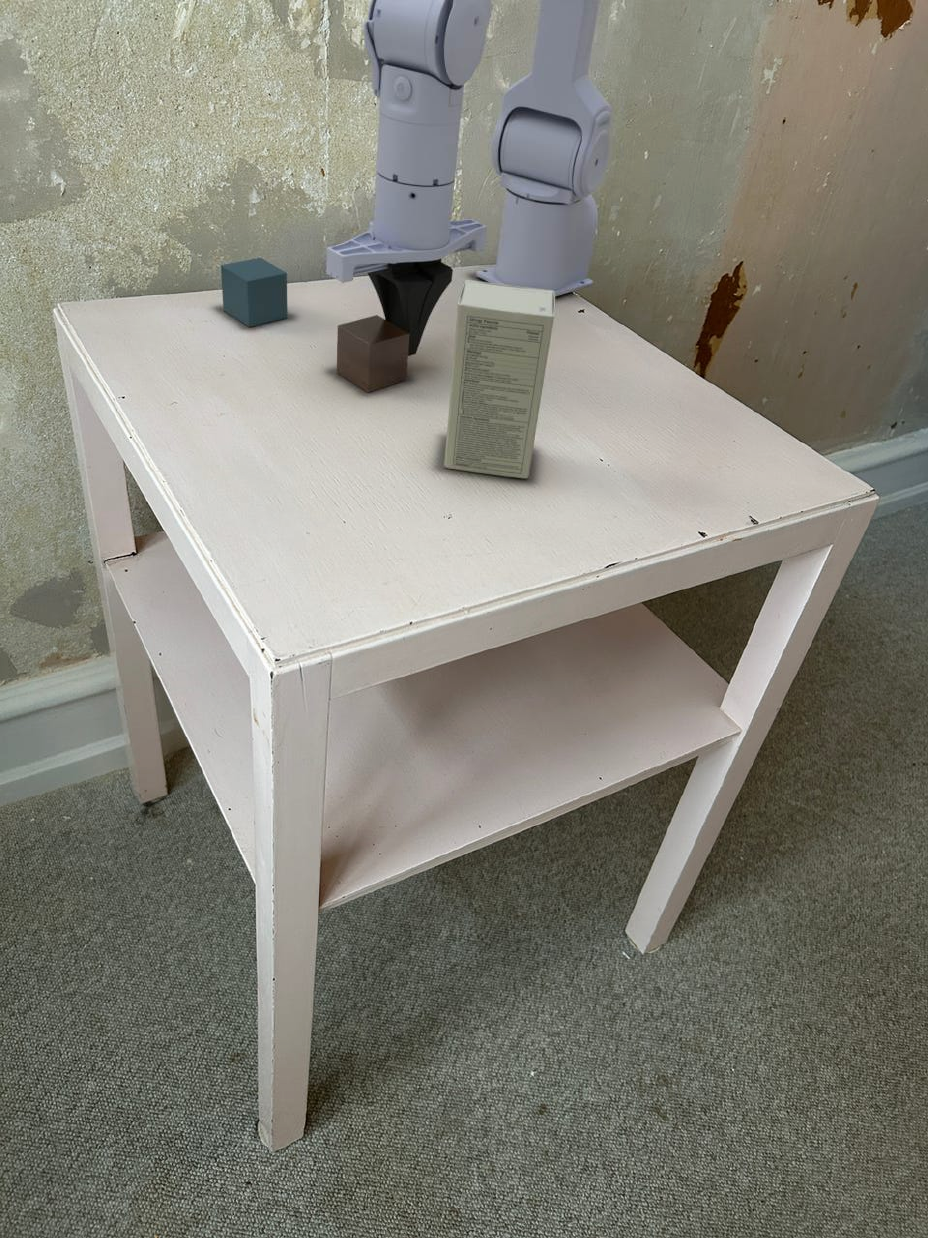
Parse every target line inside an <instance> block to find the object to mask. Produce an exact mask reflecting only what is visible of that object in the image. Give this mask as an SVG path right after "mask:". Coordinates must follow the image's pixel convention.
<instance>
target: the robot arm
mask: <svg viewBox="0 0 928 1238" xmlns="http://www.w3.org/2000/svg"><path fill="white" fill-rule="evenodd" d="M600 1H601V0H540V4H539V11H538V13H539V14H538V19H537V26H536V27H537V28H536V35H535V43H534V48H533V49H534V50H533V57H532V63H531V64H532V65H531V71H530V73H528V74H526V75H525V76H523V77H522V78H520V79H518V80H517V81H515V82H514V83H513V84H512V85H511V86H509V87H508V88H507V90H505V92H504V93H503V96H502V100H501V106H500V111H499V115H498V118H497V121H496V124H495V125H494V130H493V133H492V139H491V146H490V157H491V162H492V164H493V168H494V170H495V173H496V174H497V175H499V176H500V180H499V186H500V187H502V188H503V187H504V188H505V192H504V193H505V194H504V202H503V210H502V218H501V224H500V233H499V240H498V247H497V255H496V263H495V266H490V267H487V268H483V269H478V270H476V273H475V274H476V277H477V278H480V279H482V280H484V281H485V282H487V283H495V284H504V285H512V286H520V287H528V288H536V289H544V290H552V291H554V292H555V297H559V296H562V295H565V294H568V293H572V292H576V291H579V290H582V289H587V288H589V287H592V286H593V285H594V280H593V279H591V278H588V275H589V270H590V264H591V260H592V256H593V255H592V254H593V249H594V245H595V238H596V234H597V229H598V223H599V213H598V207H597V203H596V200H595V199H594V197H593V195H592V194H593V193H594V192H595V191H596V190H597V189H598V187H599V186H600V184H601V181H602V179H603V178H604V175H605V172H606V169H607V166H608V161H609V157H610V149H611V140H610V132H611V131H610V130H611V121H612V106H611V105H610V103H609V102H608V100H606V98H605V97H604V96H603V94H602V93H601V92H600V91H599V89H598V88H597V87H596V86H595V84H594V83H593V81H592V80H591V79H590V77H589V75H588V74H589V73H588V72H589V67H590V61H591V55H592V50H593V43H594V37H595V31H596V26H597V19H598V14H599V9H600ZM493 6H494V5H493V2H492V0H370V3H369V7H368V12H367V20H366V21H364V24H363V33H364V35H363V36H364V42H365V48H366V52H367V56H368V58H369V60H370V64H371V69H372V77H371V78H372V81H371V83H372V84H371V89H372V90H373V93H374V96H375V97H376V98H377V99H379V105H378V127H377V144H376V145H377V146H376V148H377V149H376V169H375V170H376V171H375V190H374V191H375V192H374V214H373V220H371V221H369V227H368V230H367V231H365V232H363V233H361V234H358V235H356V236H354V237H353V238H351V239H349V240H346V241H344V242H342V243H339V244H336V245H332V246H328V247H326V262H325V263H326V270H325V273H326V275H328V276H329V277H331V278H332V279H335V280H337V281H339V282H341V283H342V284H343V283H344V284H345V283H348V282H352V281H353V280H354V277H355V276H360V275H365V274H367V275H368V277H369V279H370V281H371V283H372V285H373V288H374V290H375V292H376V295H377V297H378V299H379V303H380V304H381V305H380V306H381V309H382V313H383V317H384V319H385V320H387V321H388V322H390V323H392V324H394V325H395V326H397V327H399V328H401V329H402V330H404V331H406V332H408V333H409V347H408V357H410V356H414V355H417V352H418V350H419V345H420V343H421V341H422V337H423V335H424V332H425V330H426V327H427V324H428V322H429V319H430V317H431V315H432V312H433V311H434V308H435V307H436V305H437V303H438V301H439V300H440V298H441V297H442V295H443V294H444V292H445V291H446V289H447V288H448V287H449V285H450V284H451V283H452V282H453V274H454V273H453V272H454V270H453V268H452V267H451V266H450V265H448V264H447V263H446V264H445V263H444V262H442V259H444V258H446V257H447V256H449V255H453V254H456V253H460V252H461V253H462V252H466V251H471V252H474V253H479V252H483V251H485V249H486V243H487V242H486V241H487V234H488V225H485V224H484V223H481V222H480V221H477V220H474V219H472V218H467V219H461V220H460V219H459V220H452V212H453V204H454V203H453V202H454V192H455V191H454V190H455V182H456V172H457V171H456V170H457V162H458V151H459V141H460V131H461V129H460V128H461V120H462V109H463V99H464V90H465V84H466V83H468V82H469V81H470V80H471V78H472V77H473V76H474V74H475V72H476V70H477V68H478V67H479V65H480V64H481V62H482V61H481V60H482V58H483V55H484V50H485V45H486V39H487V31H488V25H489V22H490V19H491V17H492V11H493V8H494V7H493Z"/></svg>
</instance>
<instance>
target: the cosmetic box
mask: <svg viewBox="0 0 928 1238" xmlns="http://www.w3.org/2000/svg"><path fill="white" fill-rule="evenodd" d="M555 312H556V296H555V292H554V291H552V290H544V289H536V288H528V287H520V286H512V285H504V284H495V283H490V282H488V281H479V280H472V279H471V280H470V279H465V280H464V282H463V285H462V288H461V291H460V295H459V298H458V302H457V312H456V323H455V324H456V325H455V335H454V348H453V359H452V372H451V381H450V394H449V403H448V404H449V407H448V416H447V417H448V418H447V427H446V428H447V429H446V438H445V451H444V462H443V466H444V468H446V469H451V470H457V471H465V472H471V473H479V474H487V475H493V476H500V477H507V478H508V477H509V478H518V479H519V478H520V479H528V478H529V476H530V470H531V463H532V457H533V451H534V445H535V439H536V432H537V427H538V419H539V413H540V409H541V401H542V394H543V388H544V383H545V377H546V371H547V363H548V356H549V351H550V344H551V338H552V332H553V326H554V319H555Z"/></svg>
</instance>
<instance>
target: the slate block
mask: <svg viewBox="0 0 928 1238" xmlns="http://www.w3.org/2000/svg"><path fill="white" fill-rule="evenodd" d="M220 274H221V291H222V309H223V311H224V312H225V313H226V314H228V315H230V316H231V317H233V318H234V319H236V320H238V321H239V322H241V323H242V324H243V325H244V326H246V327H248V328H251V327H256V326H259V325H263V324H268V323H272V322H275V321H276V322H277V321H280V320H285V319H288V272H286V271H284V270H282V269H281V268H279V267H277V266H276V265H274V264H272V263H270V262H268V261H267V260H265V259H264V258H262V257H256V258H251V259H246V260H245V259H244V260H241V261H235V262H231V263H225V264H221V265H220Z"/></svg>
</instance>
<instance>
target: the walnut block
mask: <svg viewBox="0 0 928 1238" xmlns="http://www.w3.org/2000/svg"><path fill="white" fill-rule="evenodd" d="M336 340H337V341H336V343H337V344H336V373H337V374H338V375H340V376H341V377H343V378H344V379H346V380H348V381H349V382H350V383H352V384H354V385H355V386H357V387H359V388H360V389H362V390H363V391H365V392H367V393H371V392H374V391H377V390H380V389H383V388H387V387H389V386H393V385H395V384H399V383H402V382H404V381H407V373H408V359H409V358H408V357H409V356H408V347H409V333H408V332H406V331H404V330H402V329H401V328H399V327H397V326H395V325H394V324H392V323H390V322H388V321H387V320H385V318H383V317H382V316H380V315H378V314H375V315H371V316H368V317H364V318H361V319H356V320H353V321H349V322H345V323H342V324H338V325H337V339H336Z"/></svg>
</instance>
